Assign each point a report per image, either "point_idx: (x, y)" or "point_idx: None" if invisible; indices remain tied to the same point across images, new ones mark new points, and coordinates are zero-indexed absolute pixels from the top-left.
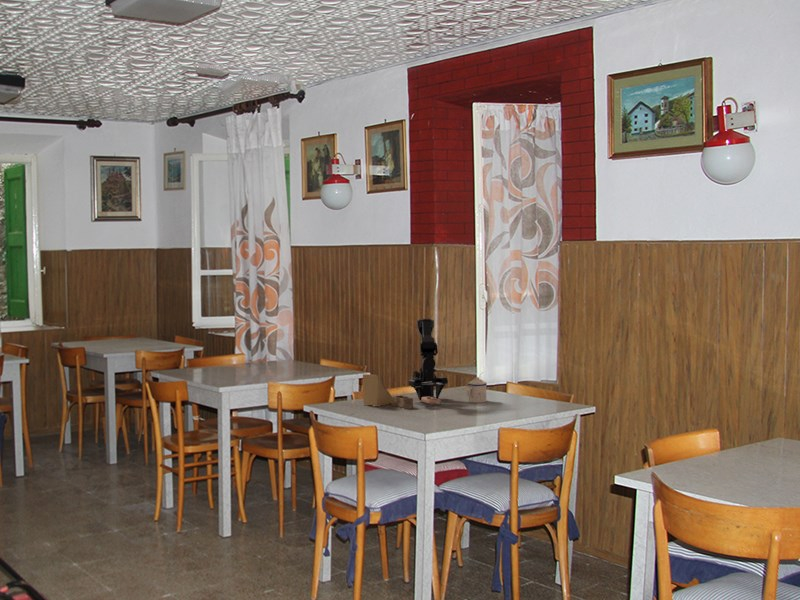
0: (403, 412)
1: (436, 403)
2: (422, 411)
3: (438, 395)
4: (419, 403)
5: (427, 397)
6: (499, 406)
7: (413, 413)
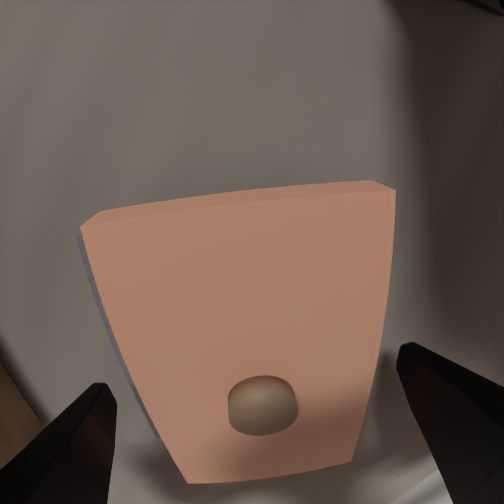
0: None
1: None
2: None
3: (423, 412)
4: (111, 340)
5: (232, 424)
6: None
7: None
